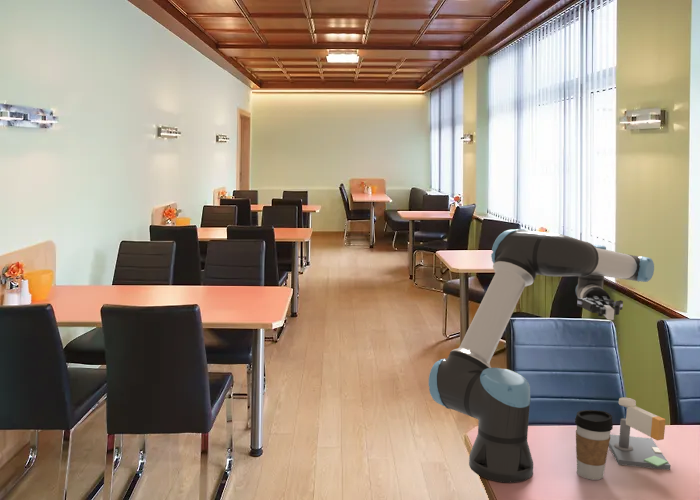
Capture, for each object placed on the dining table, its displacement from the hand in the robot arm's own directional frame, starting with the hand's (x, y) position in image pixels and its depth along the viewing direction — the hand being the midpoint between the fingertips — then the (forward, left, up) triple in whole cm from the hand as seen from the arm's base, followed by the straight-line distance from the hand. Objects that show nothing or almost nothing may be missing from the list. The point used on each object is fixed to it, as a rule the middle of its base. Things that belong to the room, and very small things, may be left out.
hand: (611, 314), depth 166 cm
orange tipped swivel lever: (+6, -13, -33) cm, 36 cm away
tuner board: (+7, -9, -34) cm, 36 cm away
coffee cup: (-7, -24, -34) cm, 43 cm away
